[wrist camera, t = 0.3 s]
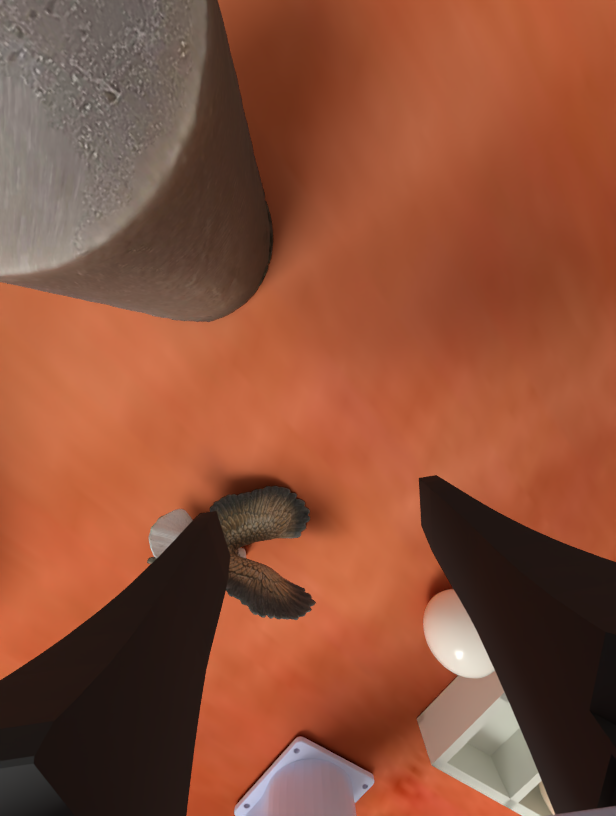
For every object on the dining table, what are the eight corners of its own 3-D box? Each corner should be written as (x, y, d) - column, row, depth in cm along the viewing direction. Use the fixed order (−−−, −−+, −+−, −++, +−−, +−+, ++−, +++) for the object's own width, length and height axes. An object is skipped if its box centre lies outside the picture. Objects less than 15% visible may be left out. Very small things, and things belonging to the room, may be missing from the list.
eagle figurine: (197, 613, 23) (324, 606, 21) (120, 648, 16) (294, 641, 15) (200, 500, 26) (312, 486, 24) (135, 491, 19) (283, 471, 17)
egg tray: (547, 794, 29) (576, 845, 26) (416, 718, 27) (431, 765, 24) (677, 676, 27) (724, 717, 24) (546, 582, 25) (580, 615, 22)
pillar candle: (301, 200, 19) (311, -304, 4) (230, 351, 20) (55, 366, 6) (143, 108, 18) (-568, -981, 3) (79, 275, 19) (-607, 53, 5)
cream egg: (448, 641, 25) (484, 712, 21) (399, 609, 25) (424, 675, 20) (491, 594, 25) (540, 657, 20) (442, 561, 24) (480, 617, 19)
